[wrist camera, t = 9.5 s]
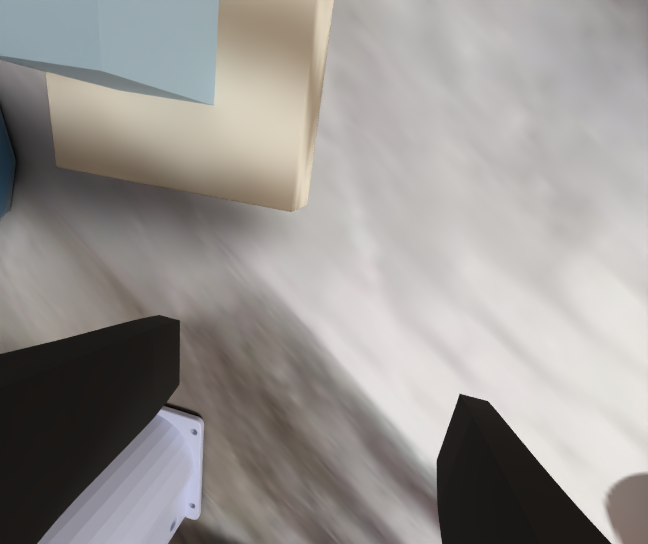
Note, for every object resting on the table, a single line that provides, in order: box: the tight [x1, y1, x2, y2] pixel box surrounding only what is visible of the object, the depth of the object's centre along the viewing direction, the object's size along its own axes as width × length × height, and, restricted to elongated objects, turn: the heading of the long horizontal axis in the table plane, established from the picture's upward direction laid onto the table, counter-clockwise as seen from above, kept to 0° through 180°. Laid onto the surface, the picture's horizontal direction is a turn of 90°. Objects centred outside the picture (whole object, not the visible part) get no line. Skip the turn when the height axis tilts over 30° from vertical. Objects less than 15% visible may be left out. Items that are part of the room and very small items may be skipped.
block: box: [0, 0, 219, 106], centre depth 11 cm, size 4×4×6 cm
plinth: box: [45, 0, 334, 212], centre depth 14 cm, size 12×12×2 cm
